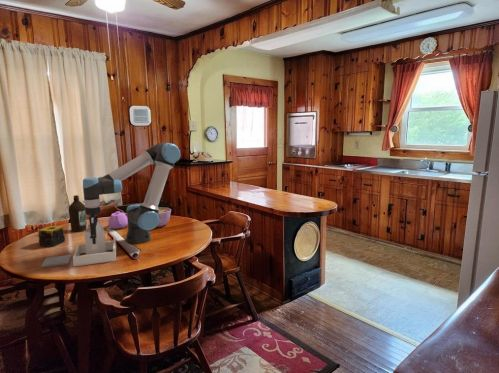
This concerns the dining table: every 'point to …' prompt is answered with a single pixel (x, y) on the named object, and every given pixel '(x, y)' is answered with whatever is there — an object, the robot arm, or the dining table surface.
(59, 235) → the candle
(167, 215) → the bowl of food
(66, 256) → the slate tile
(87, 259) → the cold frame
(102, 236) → the milk carton
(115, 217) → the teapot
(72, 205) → the olive oil
